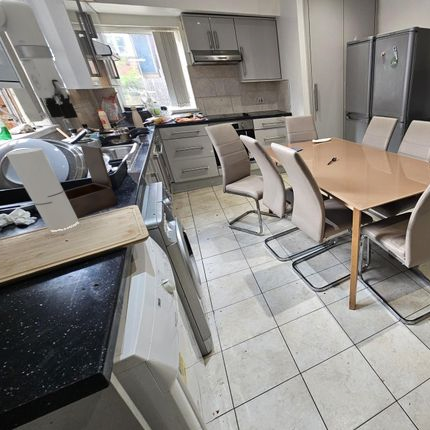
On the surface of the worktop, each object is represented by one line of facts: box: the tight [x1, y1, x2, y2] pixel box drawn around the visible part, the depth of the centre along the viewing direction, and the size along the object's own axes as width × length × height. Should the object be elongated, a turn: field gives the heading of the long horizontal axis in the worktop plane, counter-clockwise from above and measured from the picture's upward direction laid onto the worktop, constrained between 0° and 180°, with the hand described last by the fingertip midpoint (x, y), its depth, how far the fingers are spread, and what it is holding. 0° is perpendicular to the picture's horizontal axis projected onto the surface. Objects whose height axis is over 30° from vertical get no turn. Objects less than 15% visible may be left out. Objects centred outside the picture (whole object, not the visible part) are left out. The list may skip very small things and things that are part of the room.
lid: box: [80, 144, 113, 188], centre depth 101 cm, size 14×13×5 cm
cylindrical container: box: [5, 147, 82, 236], centre depth 78 cm, size 7×7×25 cm
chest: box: [64, 182, 119, 219], centre depth 99 cm, size 13×13×7 cm
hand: (64, 117), depth 85 cm, fingers open, 9 cm apart
